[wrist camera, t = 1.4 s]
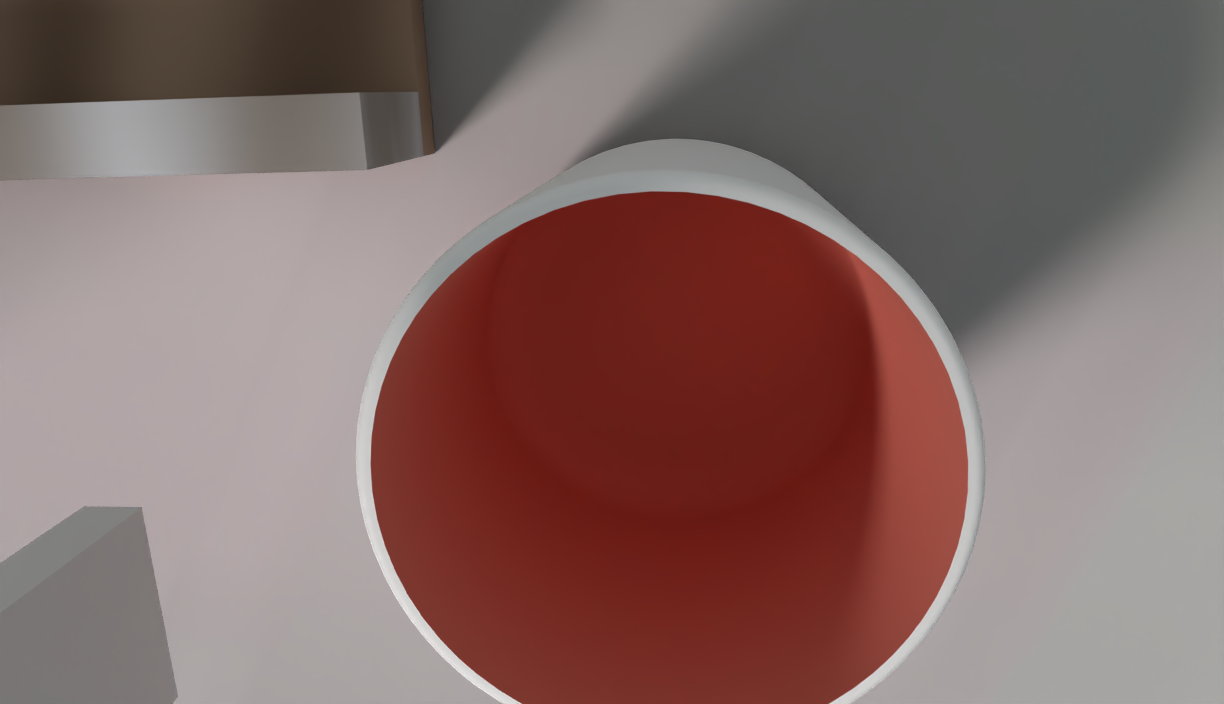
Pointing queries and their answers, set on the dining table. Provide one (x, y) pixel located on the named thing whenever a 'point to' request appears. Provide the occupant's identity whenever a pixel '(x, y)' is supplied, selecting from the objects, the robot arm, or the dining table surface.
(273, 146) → the cradle
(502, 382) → the cup
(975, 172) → the dining table surface
